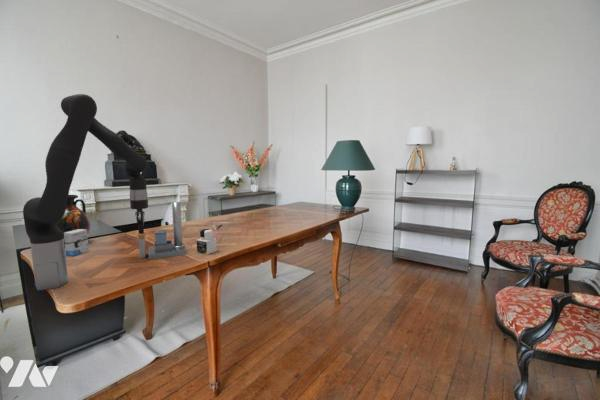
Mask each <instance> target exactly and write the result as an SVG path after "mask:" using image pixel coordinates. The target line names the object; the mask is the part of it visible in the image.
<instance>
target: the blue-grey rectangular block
mask: <svg viewBox="0 0 600 400" xmlns="http://www.w3.org/2000/svg"><path fill="white" fill-rule="evenodd" d="M154 238H155V241H154V242H156V245H164V244H167V240H168V237H167V230H166V229H165V230H156V231H154Z"/></svg>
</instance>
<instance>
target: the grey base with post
mask: <svg viewBox="0 0 600 400" xmlns="http://www.w3.org/2000/svg"><path fill="white" fill-rule="evenodd" d="M171 207H172V208H171V210H172V227H173V228H172V229H173V230H172V231H173V242H172V239H167V244H164V245H156V241H154V246H153V245H151V246H148V248H147V251H148V253H147V252H146V239H145V240H144V238H146V236H144V238H140V239H139V238H138V249H139V250H138V252H139V259H143V258H144V259H145V258H146V255H148V260H154V259H155V260H157V259H163V258H169V257H170V256H171V257H177V256H184V255H187V248H186V244H185V243H184V242H183V228H182V226H183V225H182V224H183V223H182V209H181V207H182V205H181V201H175V202H172V203H171ZM145 253H146V255H145ZM162 257H163V258H162ZM146 259H147V258H146Z"/></svg>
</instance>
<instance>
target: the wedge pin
mask: <svg viewBox="0 0 600 400" xmlns="http://www.w3.org/2000/svg"><path fill="white" fill-rule="evenodd" d="M144 236H145V238H146V232H144V233H143V234H139V232H137V237H138V240H139V239H140V238H144ZM145 238H144V240H145V241H146V239H145ZM145 255H147V252H146V253H145Z"/></svg>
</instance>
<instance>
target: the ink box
mask: <svg viewBox="0 0 600 400" xmlns="http://www.w3.org/2000/svg"><path fill="white" fill-rule="evenodd" d="M88 235H89V233H88V234H87V230H85V229H77V230H73V231H69V232H65V233H64V240H65V256H69V257H75V256H78V255H82V254H83V253H87V252H89V251H90V249H89V247H90V246H89V237H88Z"/></svg>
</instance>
